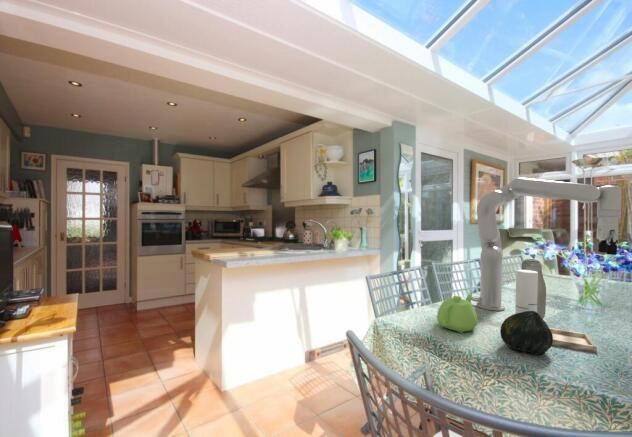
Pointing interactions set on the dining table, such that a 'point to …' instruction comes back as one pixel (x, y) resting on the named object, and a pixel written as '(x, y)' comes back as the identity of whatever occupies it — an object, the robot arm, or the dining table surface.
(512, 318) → the squash
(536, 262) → the grey tall rounded bottle
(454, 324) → the teapot
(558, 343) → the wooden tray
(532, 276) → the cylindrical container
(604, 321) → the dining table surface
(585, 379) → the dining table surface
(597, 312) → the dining table surface
